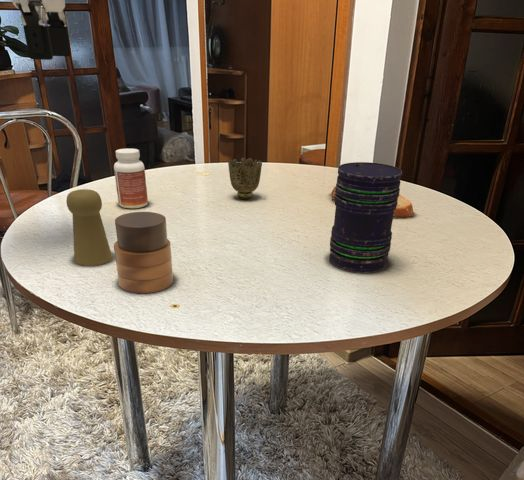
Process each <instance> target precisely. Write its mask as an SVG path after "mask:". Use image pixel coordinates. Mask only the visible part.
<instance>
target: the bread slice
mask: <svg viewBox="0 0 524 480" xmlns="http://www.w3.org/2000/svg"><path fill="white" fill-rule="evenodd" d="M335 188H336V185H335V186H334V187H333V189H332V191H331V198H332V199H333V200H334V198H335V194H336V193H335ZM397 202H398V204H397V207H396V209H395V210H394V215H393V218H399V219H400V218H401V219H402V218H411V217H413V216H414V215H415V211H414V207H413V203H412V200H409V199H408V198H406V197H405V196H403V195H402V194H400V193H399V197H398V201H397Z"/></svg>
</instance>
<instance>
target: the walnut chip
mask: <svg viewBox="0 0 524 480" xmlns="http://www.w3.org/2000/svg"><path fill="white" fill-rule="evenodd" d="M114 225H115V232H116V233H115V234H116V241H118V246H119V248H120V249H122V250H125V251H128V252H136V253H143V252H152V251H156V250H159V249H162V248H164V247H165V246H166V245H167V243H168V241H167V239H168V229H167V219H166V217H165V215H164V214H161V213H159V212H155V211H153V212H152V211H134V212H128V213H127V212H126V213H123V214H120V215H119V216H117V217H115V219H114Z"/></svg>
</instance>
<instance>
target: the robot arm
mask: <svg viewBox="0 0 524 480" xmlns="http://www.w3.org/2000/svg"><path fill="white" fill-rule="evenodd" d="M11 3H12V5H13V6H14V7H15V8H16V9H18V10H19V11H20V13H21V14H20V15H21V16H20V21H21V24H22V27H23V33H24V38H25V43H26V48H27V53H28V58H29V59H30V60H46V61H47V60H48V61H50V60H53V58H54V57H71V56H72V51H71V49H72V48H71V43H70V35H69V29H68V23H67V18H66V15H65V14H66V12H65V11H66V10H65V8H66V0H11Z"/></svg>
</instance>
